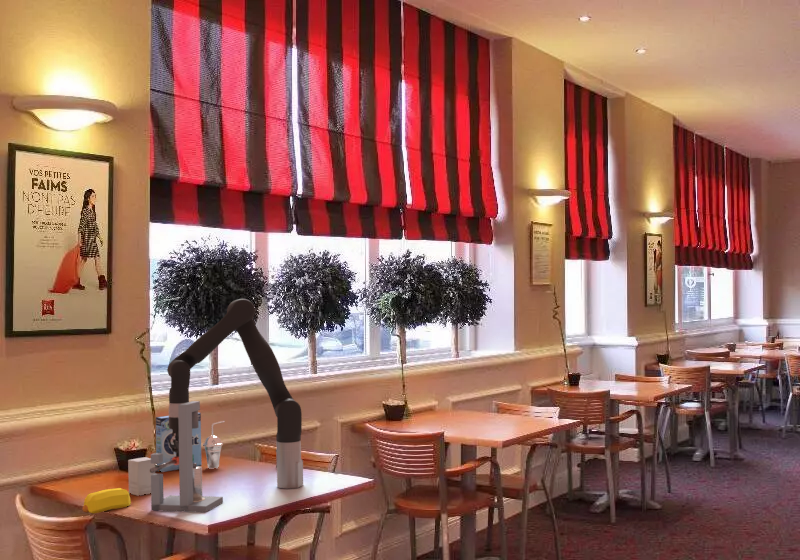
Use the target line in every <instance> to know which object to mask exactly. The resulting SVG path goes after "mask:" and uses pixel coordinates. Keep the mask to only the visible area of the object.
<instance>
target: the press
mask: <svg viewBox="0 0 800 560" xmlns="http://www.w3.org/2000/svg"><path fill="white" fill-rule="evenodd" d="M200 410H201V401H197V400H196V401H195V400H194V401H193V400H191V401H189V402H187V403H184V404H180V405H178V419H179V469H178V470H179V471H178V472H179V483H178V484H179V495H172V494H170V495H169V496H167V497H164V473H155V474H153V475H151V494H150V503H151V505H150V506H151V507H150V508H151V510H163V511H162V512H182V511H196V512H195V513H207V512H209V511H211V510H212V509H214V508H216V507H217V505H218V506H219V505H221V504H223V503H222V502H224V498H223V497H224V496H207V495H202V500H199V501H193V457H192V429H193V428H198V413H199V411H200ZM150 458H151V464H155V465H156V464H159V463H162V462H163V453H156V452H153V453H151V454H150ZM220 503H221V504H220ZM215 506H216V507H215ZM213 507H214V508H213ZM210 509H211V510H210ZM208 510H209V511H208ZM206 511H207V512H206Z"/></svg>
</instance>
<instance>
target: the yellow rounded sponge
mask: <svg viewBox="0 0 800 560" xmlns="http://www.w3.org/2000/svg"><path fill="white" fill-rule="evenodd" d="M131 503H132V497H130V493H129V490H127V489H126V488H124V489H123V488H121V487H117V488H107V489H102V490H99V491H94V492H91V493H88V494H87V495H86V497H85V498H84V500H83V506H82V512H83V513H87V514H88V513H91V514H92V515H94V514H95V515H96V514H99V513H102V512H106V511H109V510H116V509H121V508H127V506H128V507H129V506H131V505H132V504H131Z"/></svg>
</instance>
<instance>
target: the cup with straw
mask: <svg viewBox="0 0 800 560" xmlns="http://www.w3.org/2000/svg"><path fill="white" fill-rule="evenodd" d="M222 423H225V420H219V421H217V422H213V423H211V435H209V436H207V438H205V441H204V442H203V443H202V446H203V447H204V451H205V456H206V463H207V469H208V468H209V469H210V470H215V469H214V468H216V469H219V468H218V467H219V466H220V457H221V450H222V446H223V445H224V443H223V441H222V440H221V438H220V437H219V436H218V435H214V425H216V424H217V425H218V424H222Z"/></svg>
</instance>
